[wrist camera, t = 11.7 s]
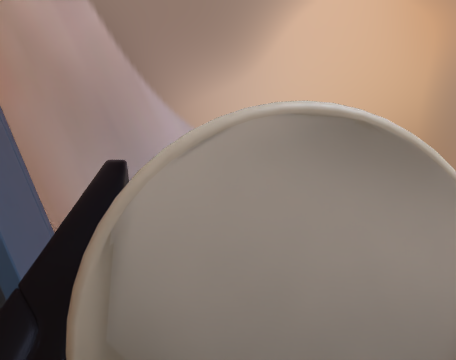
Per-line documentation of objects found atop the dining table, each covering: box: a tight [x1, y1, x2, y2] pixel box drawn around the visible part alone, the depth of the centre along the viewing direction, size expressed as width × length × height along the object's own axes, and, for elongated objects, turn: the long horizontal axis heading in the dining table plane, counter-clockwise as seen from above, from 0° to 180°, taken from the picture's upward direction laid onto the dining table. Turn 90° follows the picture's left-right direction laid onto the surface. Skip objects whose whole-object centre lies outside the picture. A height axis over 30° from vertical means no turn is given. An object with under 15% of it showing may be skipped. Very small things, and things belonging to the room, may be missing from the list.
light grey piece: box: [66, 101, 456, 360], centre depth 9 cm, size 4×4×12 cm
